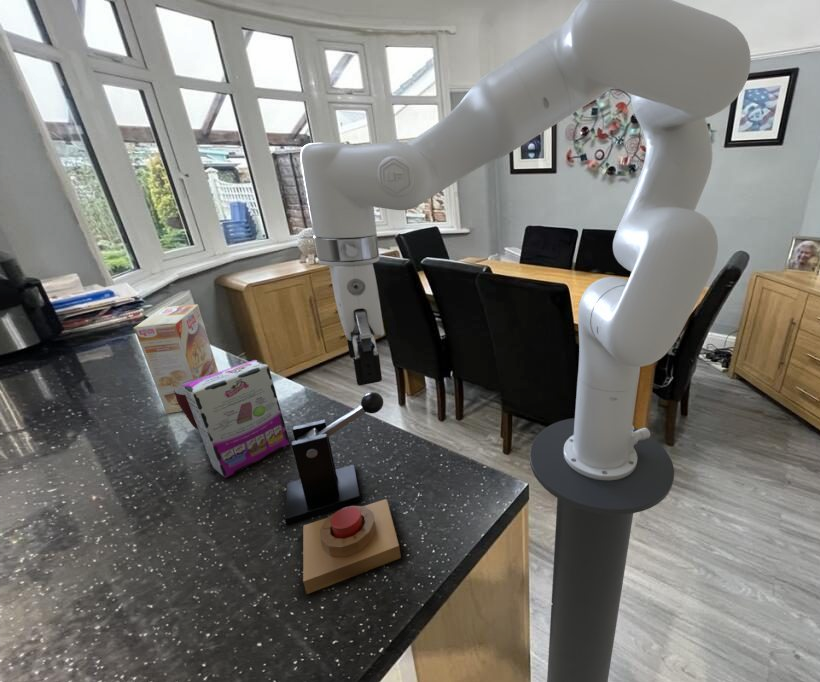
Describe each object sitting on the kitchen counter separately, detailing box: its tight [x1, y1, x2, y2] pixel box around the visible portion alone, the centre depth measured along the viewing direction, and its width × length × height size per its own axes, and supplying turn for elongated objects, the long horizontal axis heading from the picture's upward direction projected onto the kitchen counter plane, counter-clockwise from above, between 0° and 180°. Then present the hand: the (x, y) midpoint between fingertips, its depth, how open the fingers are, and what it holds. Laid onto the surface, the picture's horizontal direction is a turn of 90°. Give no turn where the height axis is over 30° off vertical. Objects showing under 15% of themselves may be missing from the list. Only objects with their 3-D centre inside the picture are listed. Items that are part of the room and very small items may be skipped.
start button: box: [331, 506, 363, 539], centre depth 51 cm, size 4×4×2 cm
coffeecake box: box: [133, 303, 219, 415], centre depth 86 cm, size 15×7×20 cm, turn 22°
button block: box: [302, 498, 402, 595], centre depth 52 cm, size 11×9×4 cm
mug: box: [174, 375, 209, 431], centre depth 77 cm, size 11×8×10 cm
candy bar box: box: [182, 359, 291, 479], centre depth 67 cm, size 11×5×16 cm, turn 147°
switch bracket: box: [284, 419, 362, 526], centre depth 59 cm, size 10×8×12 cm
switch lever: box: [298, 391, 384, 440], centre depth 58 cm, size 13×3×3 cm, turn 116°
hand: (365, 368), depth 57 cm, fingers open, 9 cm apart
